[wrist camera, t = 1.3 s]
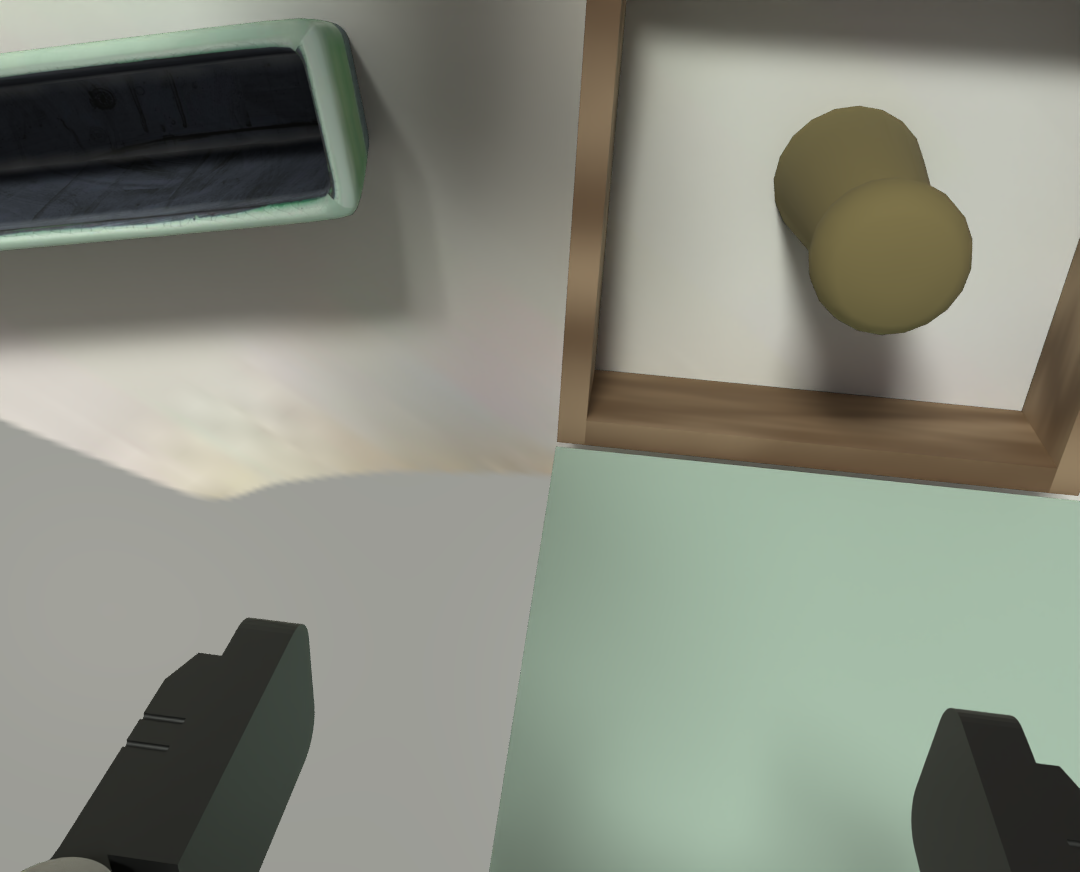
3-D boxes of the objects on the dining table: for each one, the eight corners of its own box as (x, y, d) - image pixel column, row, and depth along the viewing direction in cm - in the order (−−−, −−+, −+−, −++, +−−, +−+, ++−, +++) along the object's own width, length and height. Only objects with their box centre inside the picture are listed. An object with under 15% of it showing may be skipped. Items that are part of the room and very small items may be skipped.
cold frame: (605, -140, 37) (596, -141, 32) (1231, -105, 35) (1309, -100, 31) (567, 389, 48) (556, 441, 43) (1040, 436, 46) (1078, 495, 42)
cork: (746, 162, 41) (766, 252, 32) (881, 74, 39) (945, 143, 30) (818, 276, 43) (857, 392, 34) (949, 199, 41) (1031, 300, 32)
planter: (371, -9, 40) (315, 15, 34) (405, 169, 44) (360, 220, 37) (-217, 66, 45) (-361, 100, 38) (-144, 222, 48) (-265, 276, 42)
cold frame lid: (465, 1019, 29) (467, 1027, 29) (1270, 1139, 27) (1250, 1144, 28) (556, 446, 43) (555, 461, 44) (1081, 500, 41) (1071, 515, 42)
